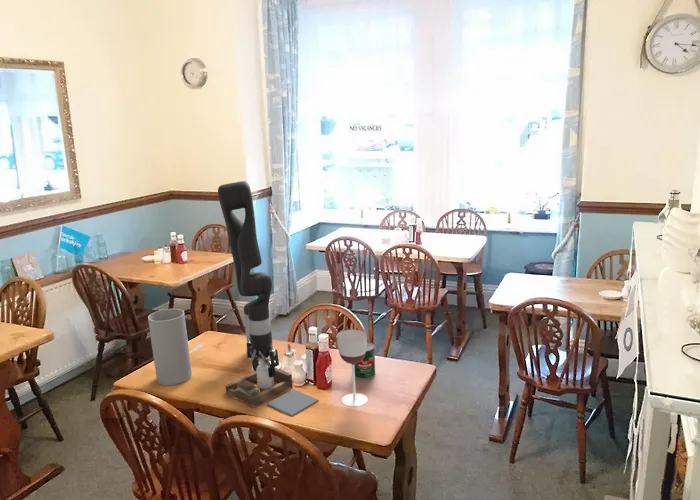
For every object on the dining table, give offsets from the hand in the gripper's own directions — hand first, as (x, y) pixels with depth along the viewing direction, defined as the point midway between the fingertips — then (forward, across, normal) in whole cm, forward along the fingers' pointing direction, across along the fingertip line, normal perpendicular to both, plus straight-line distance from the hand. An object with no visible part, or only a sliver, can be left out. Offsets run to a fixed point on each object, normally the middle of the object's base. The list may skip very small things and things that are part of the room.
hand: (263, 373), depth 200 cm
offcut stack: (+6, 0, +8) cm, 9 cm away
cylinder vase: (+6, +33, +16) cm, 37 cm away
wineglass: (+6, -31, -13) cm, 34 cm away
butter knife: (+6, +46, +4) cm, 47 cm away
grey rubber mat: (+6, -16, +1) cm, 17 cm away
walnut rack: (+5, 0, +2) cm, 6 cm away
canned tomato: (+6, -22, -29) cm, 36 cm away
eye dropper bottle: (+6, 0, 0) cm, 6 cm away
